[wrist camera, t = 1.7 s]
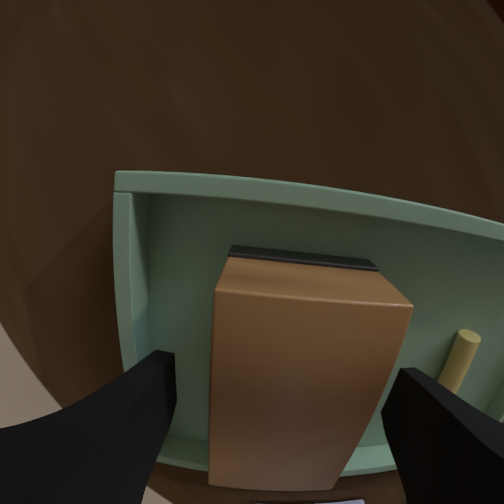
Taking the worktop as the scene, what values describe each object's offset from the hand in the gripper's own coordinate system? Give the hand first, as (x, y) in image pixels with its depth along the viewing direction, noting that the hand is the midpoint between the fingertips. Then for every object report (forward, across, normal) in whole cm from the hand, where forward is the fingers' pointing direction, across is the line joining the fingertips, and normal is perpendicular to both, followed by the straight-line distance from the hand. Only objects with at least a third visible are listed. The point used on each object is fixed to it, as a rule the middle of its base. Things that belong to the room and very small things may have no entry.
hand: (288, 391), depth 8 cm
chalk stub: (+1, -7, 0) cm, 7 cm away
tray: (+2, -4, 0) cm, 5 cm away
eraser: (+2, 0, 0) cm, 2 cm away
